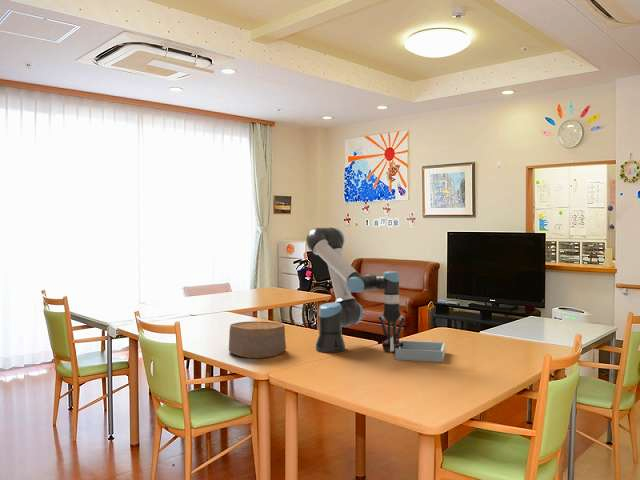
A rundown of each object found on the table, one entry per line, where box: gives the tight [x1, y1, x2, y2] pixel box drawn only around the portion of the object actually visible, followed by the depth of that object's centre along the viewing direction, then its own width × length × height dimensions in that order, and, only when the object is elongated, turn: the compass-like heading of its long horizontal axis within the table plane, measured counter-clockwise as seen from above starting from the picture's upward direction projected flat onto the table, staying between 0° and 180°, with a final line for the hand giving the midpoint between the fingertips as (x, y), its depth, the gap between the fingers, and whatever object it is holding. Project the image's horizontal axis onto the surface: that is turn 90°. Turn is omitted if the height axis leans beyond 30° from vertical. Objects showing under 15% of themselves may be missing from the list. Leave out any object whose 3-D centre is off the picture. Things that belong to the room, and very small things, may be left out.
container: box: [228, 321, 287, 359], centre depth 272 cm, size 28×28×15 cm
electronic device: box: [381, 337, 403, 353], centre depth 275 cm, size 4×10×8 cm
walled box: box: [394, 339, 446, 363], centre depth 264 cm, size 22×20×5 cm
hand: (392, 350), depth 268 cm, fingers closed
